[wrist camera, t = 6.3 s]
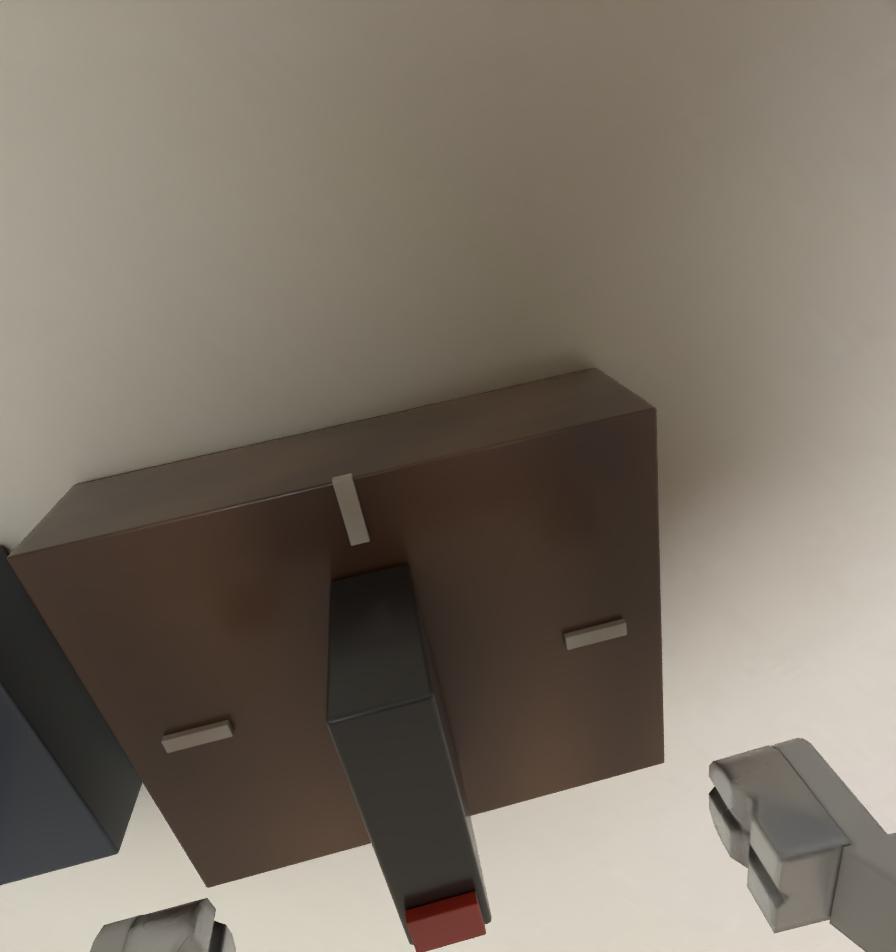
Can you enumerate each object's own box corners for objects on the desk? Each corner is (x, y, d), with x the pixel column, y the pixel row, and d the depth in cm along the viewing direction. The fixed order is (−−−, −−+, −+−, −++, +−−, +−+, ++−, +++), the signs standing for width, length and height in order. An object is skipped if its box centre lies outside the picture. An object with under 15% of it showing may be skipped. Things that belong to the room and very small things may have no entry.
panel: (595, 362, 14) (661, 405, 11) (617, 683, 18) (668, 770, 16) (71, 480, 13) (-4, 558, 10) (228, 785, 18) (206, 898, 15)
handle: (328, 581, 12) (323, 736, 8) (408, 561, 12) (435, 706, 8) (395, 783, 14) (411, 962, 11) (460, 765, 14) (496, 938, 11)
